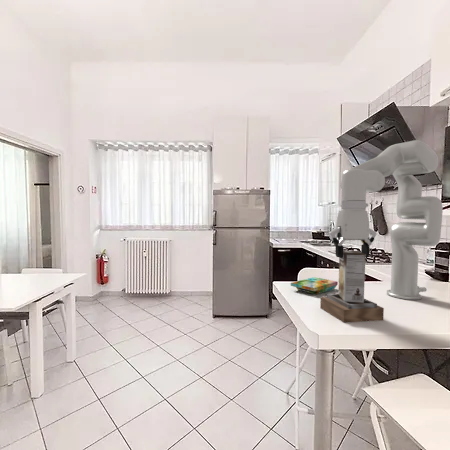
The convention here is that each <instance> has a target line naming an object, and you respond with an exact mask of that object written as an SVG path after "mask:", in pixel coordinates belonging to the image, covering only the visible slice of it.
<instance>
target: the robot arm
mask: <svg viewBox="0 0 450 450" xmlns="http://www.w3.org/2000/svg"><path fill="white" fill-rule="evenodd" d="M438 167H439V157H438V155H437V153H436V152H435V151H434V149H433V148H431V146H430V145H429V144H427V143H426V142H424V141H422V140H421V139H420V140H419V139H415V140H410V141H409V140H408V141H405V142H400V143H395V144H392V145H389V146H388V147H386V148H385V149H384V150H383V151H381V152H380V153H379V154H378V155H377V156H375V157H373V158H371V159H369V160H366V161H365V162H362V163H360V164H358V165H356V166H353V167H352V168H350V169H346V170H344V171H343V172H342V174H341V179H340V190H341V197H340V198H341V199H340V200H341V203H340V205H341V206H340V207H341V209H340V210H338V213H337V217H336V224H335V225H336V226H335V229H332V230H330V231H329V232H328V236H329V238H330V241H331V242H332V244H333V245H334V246H335V252H334V253H335V256H336V258H343V250H344V245H343V244H344V243H345V242H346V241H360V242H361V243H362V244H361V250H360V252H362V253H364V254H366V256H365V258H369V257H370V246H371V245H372V243H373V242H374V241H375V238H376V236H377V234H378V233H377V232H376V231H375V230H373V229H371V228H370V218H369V215H368V211H367V210H366V209H367V208H368V207H369V203H367V194H368V193H376V192H379V191H381V190H382V189H383V188H384V187H385V184H386V178H387V177H389V176H391V175H392V177H393V179H395V182H396V183H397V186H398V187H397V188H398V190H397V201H396V215H397V217H398V218H400V219H402V220H422V221H423V220H424V221H425V222H415V221H414V222H413V221H402V222H397V223H394V224H392V225H391V227H390V229H389V236H390V243H391V275H390V276H391V277H390V278H391V279H390V289H387V290H386V294H387V295H388V296H390V297H393V298H397V299H403V300H409V301H411V300H415V301H416V300H417V301H418V300H421V299H422V295H421V294H420V293H423V292H424V293H426V292H427V291H428V290H427V287H425V286H422V287H420V286H419V285H418V279H419V278H418V277H419V275H418V274H419V273H418V272H419V254H418V252H417V251H416V249H415V248H414V247H413V246H420V247H436V246H437V245H438V244H439V243H440V241H441V233H442V222H443V203H442V201H441V199H440V198H439V197H436V196H431V195H428V196H422V193H423V185H422V183H421V182H420V181H419V180H418V178H416V177H415V176H414V175H421V174H423V175H424V174H429V173H433V172H435V171H436V170H437V169H438Z"/></svg>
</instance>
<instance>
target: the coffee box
mask: <svg viewBox="0 0 450 450" xmlns="http://www.w3.org/2000/svg"><path fill="white" fill-rule="evenodd" d="M365 256H366V254H364V253H362V252H361V251H360V250H349V249H348V250H344V249H343V258H339V257H338V258H339V259H338V261H339V262H338V287H337V288H338V289H337V290H338V293H337V294H339V295H340V297H341V298H342V299H343V300H344V301H345V302H360V303H364V299H365V282H366V281H365V280H366V279H365V278H366V257H365Z"/></svg>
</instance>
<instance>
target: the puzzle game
mask: <svg viewBox="0 0 450 450" xmlns="http://www.w3.org/2000/svg"><path fill="white" fill-rule="evenodd" d="M290 286H291V287H295V288H296V289H297V291H300V292H306V293H309V294H312V295H313V294H314V295H319V294H322V293H326V292H330V291H331V290H332V291H333V290H334V289H336V288H337V286H339V281H337V280H336V281H335V280H331V279H327V278H321V277H315V276H314V277H308V278H305V279H300V280H297V281H293V282H290Z"/></svg>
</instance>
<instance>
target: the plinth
mask: <svg viewBox="0 0 450 450" xmlns="http://www.w3.org/2000/svg"><path fill="white" fill-rule="evenodd" d="M319 306H320V309H321V310H323V311H324V312H326V313H328V314H329V315H331V316H332V317H333V318H335V319H338V320H339V321H340V322H343V323H360V322H361V323H362V322H363V323H364V322H375V321H376V322H377V321H378V322H379V321H380V322H381V321H384V310H385V308H384V307H383V306H380V305H378V303H376V302H373V301H372V300H368V299H366V298H364V303H360V302H345V301H344V300H343V299H342V298H341V297H340V295H339V294H338V293H326V296H321V297H320V305H319Z"/></svg>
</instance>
